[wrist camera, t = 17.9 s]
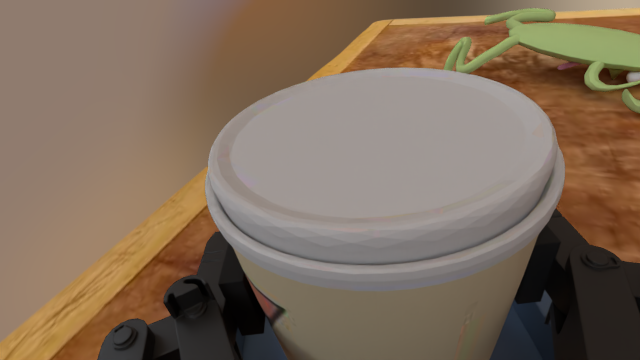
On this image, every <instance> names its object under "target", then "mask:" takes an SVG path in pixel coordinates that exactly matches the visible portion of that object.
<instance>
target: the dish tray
mask: <svg viewBox="0 0 640 360" xmlns="http://www.w3.org/2000/svg"><path fill="white" fill-rule="evenodd" d="M551 302H552V300H551V298H550V297H549V295H548V294H547V292H546V291H544V294H543V296H542V299H541V302H532V303H524V304H517V303H516V301H515V300H513V303H512V305H511V308H510V310H509V313H508V315H507V318H506V320H505V323H504V325H503V328H502V330H501V333H500V335H499V338H498V340H497V342H496V345H495V347H494V350H493V352H492V354H491V357H490V359H489V360H555V358H554V349H553V339H552V329H551V320H550V321H549V324H548V325H547V324H544V322H545V318H546V315H547V312H548V310H549V307H550V304H551ZM236 341H237V343H238V345H239V348H240V351H241V354H242V357H243V360H288V359H287V357H286V355H285V353H284V351H283V349H282V347H281V345H280V343H279V341H278V339H277V337H276V335H275V333H274V331H273V329H272V327H271V325H270V323H269V321H268V319H267V317H265V327H264V333H263V334H255V335H246V336H242V335H241V333H240V331H239V328H238V329H237V335H236Z"/></svg>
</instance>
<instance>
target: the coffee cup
mask: <svg viewBox="0 0 640 360" xmlns="http://www.w3.org/2000/svg"><path fill="white" fill-rule="evenodd" d="M564 179H565V163H564V159H563V155H562V152H561V150H560V148H559V146H558V143H557V138H556V133H555V129H554V127H553V125H552V123H551V121H550V119H549V117H548V116H547V115H546V114H545V113H544V111H543V110H542V109H541V108H540V107H539V106H538V105H537V104H536V103H535V102H534V101H532V100H531V99H530V98H528V97H527V96H525V95H524V94H522V93H520V92H519V91H517V90H515V89H513V88H510V87H508V86H506V85H504V84H502V83H499V82H496V81H493V80H489V79H486V78H483V77H480V76H476V75H471V74H466V73H461V72H455V71H449V70H439V69H429V68H383V69H370V70H361V71H353V72H347V73H341V74H336V75H330V76H325V77H321V78H318V79H314V80H310V81H307V82H303V83H300V84H297V85H294V86H292V87H289V88H286V89H283V90H280V91H278V92H276V93H274V94H272V95H269V96H268V97H265V98H263V99H261V100H259V101H257V102H256V103H254V104H253V105H251V106H249V107H248V108H246V109H244V110H243V111H241V112H240V113H239V114H238V115H237V116H235V117H234V118H233V119H232V120H231V121H230V122H229V123H228V124H227V125H226V126H225V127H224V128H223V129H222V131H221V132H220V133H219V135H218V136H217V138H216V139H215V142H214V143H213V145H212V148H211V151H210V155H209V159H208V172H207V176H206V180H205V194H206V199H207V204H208V208H209V211H210V213H211V216H212V218H213V220H214V222H215V224H216V225H217V227H218V229H219V230H220V232H221V233H222V235H223V236H224V238H225V239H226V240H227V241H228V242H229V243H230V245H231V246H232V247H233V249H234V251H235V253H236V255H237V258H238V260H239V262H240V264H241V266H242V269H243V271H244V273H245V275H246V277H247V279H248V281H249V283H250V285H251V287H252V289H253V291H254V293H255V296H256V298H257V300H258V302H259V304H260V306H261V308H262V310H263V312H264V314H265V315H266V317H267V319H268V321H269V323H270V325H271V327H272V329H273V331H274V333H275V335H276V337H277V339H278V341H279V343H280V345H281V347H282V349H283V351H284V353H285V355H286V357H287V359H288V360H489V359H490V357H491V354H492V352H493V350H494V347H495V345H496V342H497V340H498V338H499V335H500V333H501V330H502V328H503V325H504V323H505V320H506V318H507V315H508V313H509V310H510V308H511V305H512V303H513V300H514V298H515V295H516V293H517V290H518V288H519V285H520V283H521V280H522V278H523V275H524V272H525V270H526V267H527V264H528V262H529V259H530V256H531V254H532V251H533V248H534V245H535V243H536V240H537V237H538V235H539V233H540V232H541V231H542V229H543V228H544V227H545V225H546V224H547V223H548V221H549V220H550V218H551V216H552V214H553V212H554V210H555V208H556V206H557V204H558V202H559V200H560V197H561V194H562V190H563V186H564Z"/></svg>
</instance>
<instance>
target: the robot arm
mask: <svg viewBox="0 0 640 360" xmlns="http://www.w3.org/2000/svg"><path fill="white" fill-rule="evenodd" d="M544 291H546V292H547V294H548V295H549V297H550V298H551V300H552V302H551V304H550V307H549V310H548V312H547V315H546V318H545V322H544V324H547V325H548V324H549V321H550V320H551V329H552V339H553V349H554V358H555V360H640V263H633V262H625V261H621V260H620V259H619V258H618V257H617V256H616V255H615V254H613V253H612V252H610V251H608V250H606V249H604V248H601V247H597V246H593V245H589V243H588V242H587V241H586V240H585V239H584V238H583V237H582V236H581V235H580V234H579V233H578V232H577V231H576V230H575V228H574V227H573V226H572V225H571V224H570V223H569V222H568V221H567V220H566V219H565V218H564V217H562V214H561V213H560V212H559V211H558V210H557V209H555V210H554V212H553V214H552V216H551V218H550V220H549V221H548V223H547V224H546V225H545V227H544V228H543V229H542V231H541V232H540V233H539V235H538V237H537V240H536V243H535V245H534V248H533V251H532V254H531V256H530V259H529V262H528V264H527V267H526V270H525V272H524V275H523V278H522V280H521V283H520V285H519V288H518V290H517V293H516V295H515V298H514V300H515V301H516V303H517V304H524V303H532V302H541V299H542V296H543V294H544ZM164 304H165V306H166V308H167V309H168V311H169V312H170V314H171V316H169V317H167V318H164V319H162V320H159V321H157V322H154V323H152V324H149V325H147V324H146V323H145V321H144V320H141V319H138V318H137V319H129V320H127V321H125V322H122V323H120V324H119V325H118V326H116V327H115V328H114V329H112V331H111V332H110V333H109V334H108V335H107V336H106V338H105V340H104V342H103V344H102V346H101V350H100V353H99V356H98V359H97V360H243V357H242V354H241V351H240V348H239V345H238V343H237V341H236V335H237V329H238V328H239V331H240V333H241V335H242V336H246V335H255V334H263V333H264V327H265V317H266V315H265V314H264V312H263V310H262V308H261V306H260V304H259V302H258V300H257V298H256V296H255V293H254V291H253V289H252V287H251V285H250V283H249V281H248V279H247V277H246V275H245V273H244V271H243V269H242V266H241V264H240V262H239V260H238V258H237V255H236V253H235V251H234V249H233V247H232V246H231V245H230V243H229V242H228V241H227V240H226V239H225V238H224V236H223V235H222V233H221V232H215V233H214V234H213V236H212V237H211V238H210V239H209V241H208V242H207V244H206V247H205V250H204V255H203V257H202V260H201V264H200V266H199V269H198V272H197V275H190V276H187V277H183V278H181V279H180V280H178V281H176V282H175V283H174V284H173V285H172V286H171V287H170V288H169V289H168V290H167V292H166V294H165V296H164Z"/></svg>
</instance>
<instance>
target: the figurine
mask: <svg viewBox="0 0 640 360" xmlns="http://www.w3.org/2000/svg"><path fill="white" fill-rule="evenodd" d="M555 16H556V14H555V12H554V11H552V10H549V9H536V8H535V9H534V8H530V9H522V10H515V11H509V12H505V13H500V14H496V15H492V16H487V17H486V19H485V22H484V24H485V25H488V24H492V23H496V22H500V21H504V20H507V21H506V26H507V28H509V29H511V30H510V31H509V37H508V38H507V39H505V40H504V41H502V42H501V43H499V44H498V45H496V46H495V47H493V48H491V49H489V50H487V51H486V52H484V53H483V54H481V55H479V56H478V57H477V58H475V59H474V60H472V61H471V62H469V63H467V64H466V65H464V61H465V58H466V55H467V53H468V51H469V49H470V46H471V43H472V42H471V38H470V37H465V38H461V40H460V41H459V42H458V43H457V44H456V45H455V47H454V48H453V50H452V51H451V53H450V55H449V57H448V59H447V61H446V64H445V67H444V70H449V71H452V68H453V66H454V63H455V61H456V60H457V61H456V71H457V72H461V73H466V74H469V73H470V72H472V71H474V70H476V69H477V68H479V67H480V66H482V65H483V64H485V63H486V62H488V61H490V60H491V59H493V58H495V57H497V56H499V55H500V54H502V53H503V52H505V51H506V50H508V49H509V48H511V47H512V46H514V45H517V44H519V45H521V46H524V47H526V48H529V49H531V50H533V51H536V52H538V53H541V54H545V55H548V56H552V57H555V58H559V59H562V60H566V61H571V62H569V63H565V64H562V65H560V66H558V68H557V69H559V70H560V69H566V68H569V67H572V66H576V65H580V64H586V65H590V66H589V68H588V69H587V71H586V73H585V75H584V80H585V85H587V86H588V87H589V88H590V89H591V90H593V91H601V92H607V91H614V90H619V89H624V88H628V87H631V86H635V85H638V84H640V35H639V34H635V33H630V32H626V31H621V30H616V29H609V28H602V27H595V26H589V25H578V24H564V23H531V24H522V23H520V22H529V21H533V22H550V21H553V20H554V19H555ZM603 68H608V69H609V72H610V75H611V77H612V80H613V79H615V78H616V77H617V76H618V75H619V74H620V73H621V72H623V71H624V70H628V71H629V72H628V74H627V76H626V80H627V81H628V82H629V83H626V84H622V85H605V84H604V83H602V82H601V81H600V80H599V77H598V74H599V73H600V71H601V70H602V69H603ZM622 101H623V102H624V103H625V105H626V106H627V107H628V108H629V109H630V110H632V111H634V112H637V113H639V114H640V101H639V100H637V99H635V98H633V97H632V95H631V94H630V92H629V91H628V89H625V90H624V91H623V93H622Z"/></svg>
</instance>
